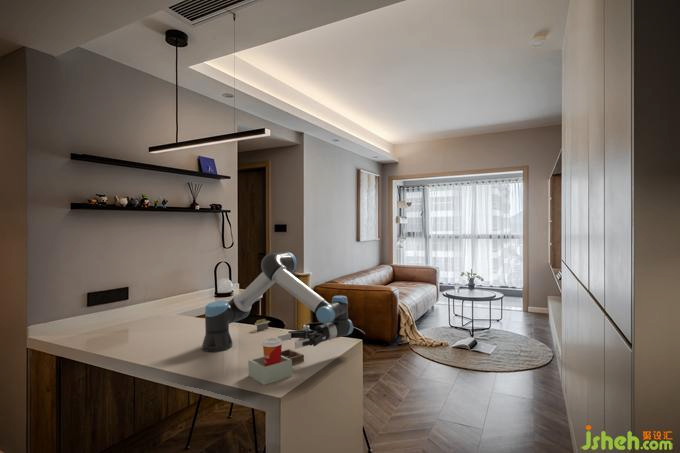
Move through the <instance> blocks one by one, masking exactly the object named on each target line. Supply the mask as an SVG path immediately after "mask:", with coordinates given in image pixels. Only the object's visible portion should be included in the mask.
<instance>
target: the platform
mask: <svg viewBox="0 0 680 453" xmlns="http://www.w3.org/2000/svg"><path fill="white" fill-rule="evenodd" d="M270 322H271V321H270V320H267V319H266V318H262V319H258V320H256V322H255V323H254V326H256V331H257V332H260V331H259V330H261V331H264V329H265V330H267V329H269V323H270Z"/></svg>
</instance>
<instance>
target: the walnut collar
mask: <svg viewBox="0 0 680 453" xmlns="http://www.w3.org/2000/svg"><path fill="white" fill-rule="evenodd" d="M281 355H282V356H284V357H286V358H289V359H291V360H292V366H294V365H297V364H300V363H304V361H305V354H303V353H301V352H299V351H296V350H293V349H290V348H287V349H284V350H281Z"/></svg>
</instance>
